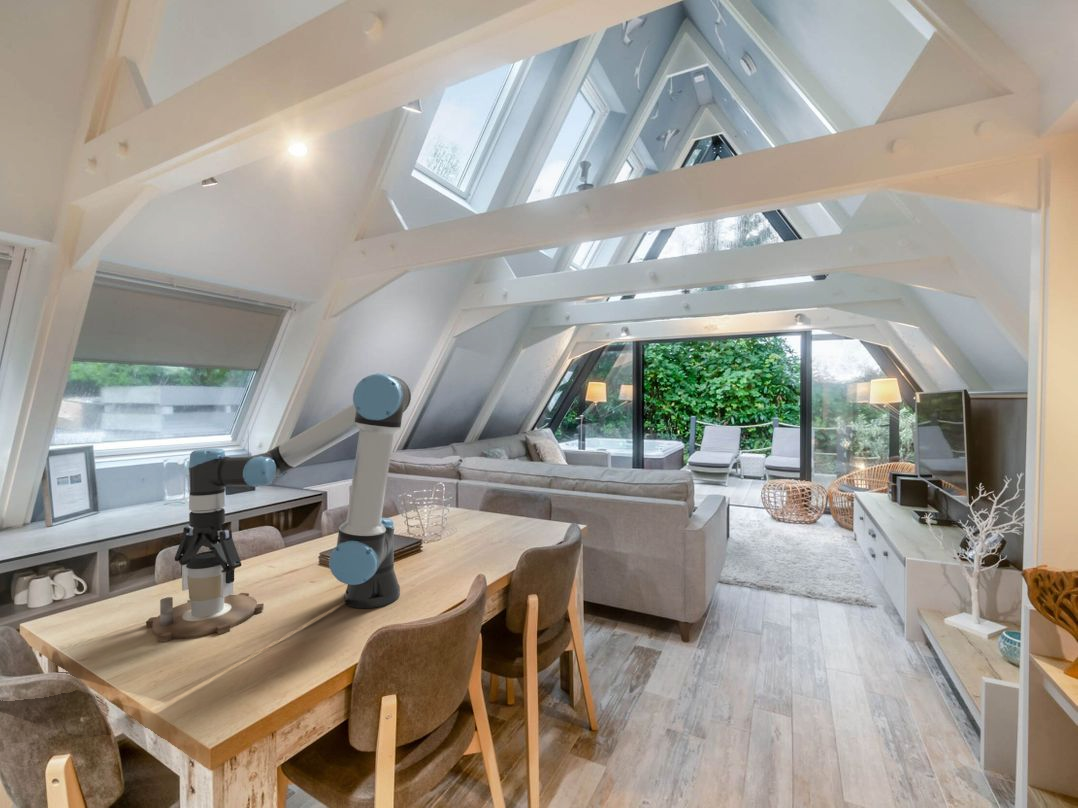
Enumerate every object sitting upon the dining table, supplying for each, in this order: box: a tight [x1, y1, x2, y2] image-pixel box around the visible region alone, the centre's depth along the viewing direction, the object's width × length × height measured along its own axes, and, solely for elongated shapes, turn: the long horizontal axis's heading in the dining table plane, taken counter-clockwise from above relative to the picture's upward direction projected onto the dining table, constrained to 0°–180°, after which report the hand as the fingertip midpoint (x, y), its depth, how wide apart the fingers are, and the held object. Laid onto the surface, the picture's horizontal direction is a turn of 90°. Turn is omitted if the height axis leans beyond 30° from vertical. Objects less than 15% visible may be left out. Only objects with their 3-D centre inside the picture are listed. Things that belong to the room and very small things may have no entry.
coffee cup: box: [186, 550, 225, 617], centre depth 123 cm, size 9×9×15 cm
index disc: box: [145, 592, 265, 643], centre depth 123 cm, size 23×25×8 cm
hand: (207, 592), depth 123 cm, fingers open, 13 cm apart
